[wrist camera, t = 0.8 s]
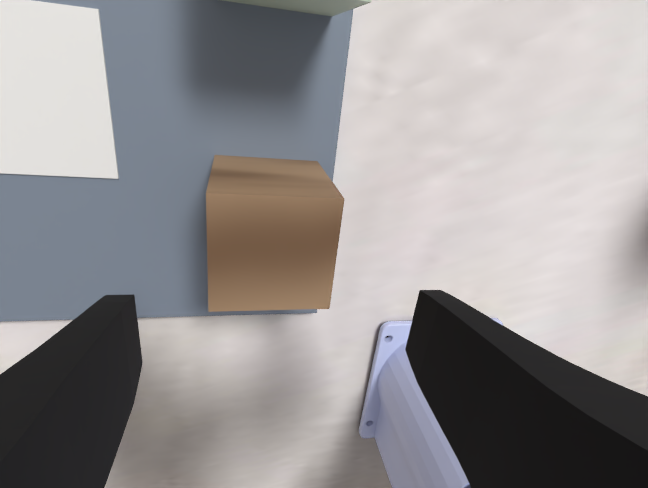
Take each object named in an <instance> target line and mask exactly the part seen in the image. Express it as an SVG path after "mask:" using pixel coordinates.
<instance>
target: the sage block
mask: <svg viewBox="0 0 648 488" xmlns="http://www.w3.org/2000/svg"><path fill="white" fill-rule="evenodd" d="M222 1H229V2H236V3H243V4H250V5H257V6H263V7H270V8H277V9H284V10H291V11H298V12H304V13H311V14H318V15H325V16H335V15H338V14H340V13H343V12H346V11H349V10H351V9H354V8H357V7H359V6H362V5H365V4H368V3H370V2H371V0H222Z"/></svg>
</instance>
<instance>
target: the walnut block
mask: <svg viewBox="0 0 648 488" xmlns="http://www.w3.org/2000/svg"><path fill="white" fill-rule="evenodd" d="M343 205H344V198H343V196H342V195H341V193H340V192H339V191H338V189H337V188H336V186H335V185H334V184H333V182H332V181H331V179H330V178H329V177H328V175H327V174H326V172H325V171H324V170H323V168H322V167H321V165H320V164H319V163H318V161H307V160H291V159H275V158H258V157H242V156H226V155H215V156H214V160H213V164H212V169H211V173H210V177H209V182H208V186H207V191H206V220H207V266H208V312H220V311H260V310H301V309H329V307H330V300H331V292H332V285H333V278H334V270H335V263H336V256H337V249H338V241H339V234H340V227H341V219H342V212H343Z"/></svg>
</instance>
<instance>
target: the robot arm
mask: <svg viewBox="0 0 648 488" xmlns="http://www.w3.org/2000/svg"><path fill="white" fill-rule="evenodd" d="M389 335H390V336H389ZM386 336H389V337H388V338H385V337H386ZM141 367H142V356H141V347H140V339H139V330H138V322H137V313H136V304H135V296H134V294H133V295H105V296H103V297H102V298H101V299H99V300H98V301H97V302H95V303H94V304H93V305H92V306H90V307H89V308H88V309H87V310H85V311H84V312H83V313H82V314H80V315H79V316H78V317H77V318H75V319H74V320H73V321H72V322H70V323H69V324H68V325H67V326H65V327H64V328H63V329H61V330H60V331H59V332H58V333H56V334H55V335H54V336H52V337H51V338H50V339H48V340H47V341H46V342H45V343H43V344H42V345H41V346H39V347H38V348H37V349H35V350H34V351H33V352H31V353H30V354H29V355H27V356H26V357H24V358H23V359H21V360H20V361H19V362H17V363H16V364H14V365H13V366H12V367H10V368H9V369H7V370H6V371H5V372H3V373H2V374H0V488H104V487H105V484H106V481H107V479H108V476H109V473H110V470H111V467H112V464H113V461H114V459H115V456H116V453H117V450H118V447H119V444H120V442H121V439H122V436H123V433H124V430H125V427H126V424H127V421H128V419H129V416H130V413H131V410H132V407H133V404H134V400H135V395H136V391H137V386H138V382H139V377H140V372H141ZM359 434H360V436H361V437H362V438H375V440H376V443H377V446H378V449H379V452H380V455H381V458H382V460H383V463H384V466H385V469H386V472H387V475H388V477H389V480H390V483H391V486H392V488H648V396H645V395H643V394H640V393H638V392H635V391H633V390H630V389H628V388H625V387H623V386H621V385H618V384H616V383H614V382H611V381H609V380H607V379H604V378H602V377H600V376H598V375H596V374H594V373H592V372H589V371H587V370H585V369H583V368H581V367H579V366H576V365H574V364H572V363H570V362H568V361H566V360H564V359H562V358H560V357H558V356H556V355H555V354H553V353H551V352H549V351H547V350H545V349H543V348H542V347H540V346H538V345H536V344H534V343H532V342H530V341H529V340H527V339H525V338H523V337H522V336H520V335H518V334H516V333H515V332H513V331H511V330H509V329H508V328H506V327H504V326H503V324H502V322H501V321H500V320H499V319H498V318H489V317H488V316H486V315H484V314H483V313H481V312H479V311H477V310H476V309H474V308H472V307H471V306H469V305H467V304H466V303H464V302H462V301H460V300H459V299H457V298H455V297H453V296H451V295H450V294H448V293H445V292H443V291H441V290H420V292H419V296H418V300H417V304H416V308H415V312H414V316H413V320H412V321H389V322H385V323H384V324H383V325H382V326H381V327H380V331H379V336H378V340H377V345H376V350H375V355H374V360H373V364H372V369H371V374H370V379H369V383H368V388H367V393H366V398H365V403H364V407H363V412H362V417H361V422H360V427H359Z"/></svg>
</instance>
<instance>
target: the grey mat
mask: <svg viewBox="0 0 648 488" xmlns="http://www.w3.org/2000/svg"><path fill="white" fill-rule="evenodd" d="M352 16H353V9H351V10H349V11H346V12H343V13H340V14H338V15H335V16H325V15H318V14H311V13H304V12H298V11H291V10H284V9H277V8H270V7H263V6H257V5H250V4H243V3H236V2H229V1H222V0H0V321H33V320H70V319H75V318H77V317H78V316H79V315H80V314H82V313H83V312H84V311H85V310H87V309H88V308H89V307H90V306H92V305H93V304H94V303H95V302H97V301H98V300H99V299H101V298H102V297H103V296H105V295H133V294H134V296H135V304H136V313H137V318H144V317H182V316H219V315H256V314H293V313H317V309H301V310H260V311H220V312H208V266H207V220H206V191H207V186H208V182H209V177H210V173H211V169H212V164H213V160H214V156H215V155H226V156H242V157H258V158H275V159H291V160H307V161H318V163H319V164H320V165H321V167H322V168H323V170H324V171H325V172H326V174H327V175H328V177H329V178H330V179H331V181H333V173H334V165H335V157H336V148H337V140H338V132H339V123H340V115H341V107H342V99H343V90H344V82H345V74H346V66H347V57H348V49H349V41H350V32H351V24H352Z"/></svg>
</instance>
